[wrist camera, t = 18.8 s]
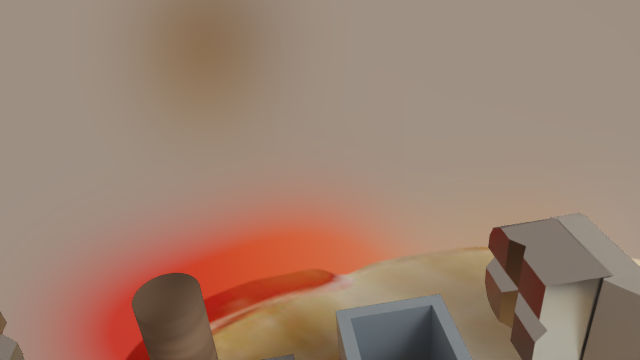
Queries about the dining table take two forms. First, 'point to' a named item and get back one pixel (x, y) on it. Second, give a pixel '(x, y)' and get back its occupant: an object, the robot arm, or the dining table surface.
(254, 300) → the dining table surface
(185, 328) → the walnut dowel
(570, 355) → the robot arm
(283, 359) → the tray
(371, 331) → the grey open-top box
